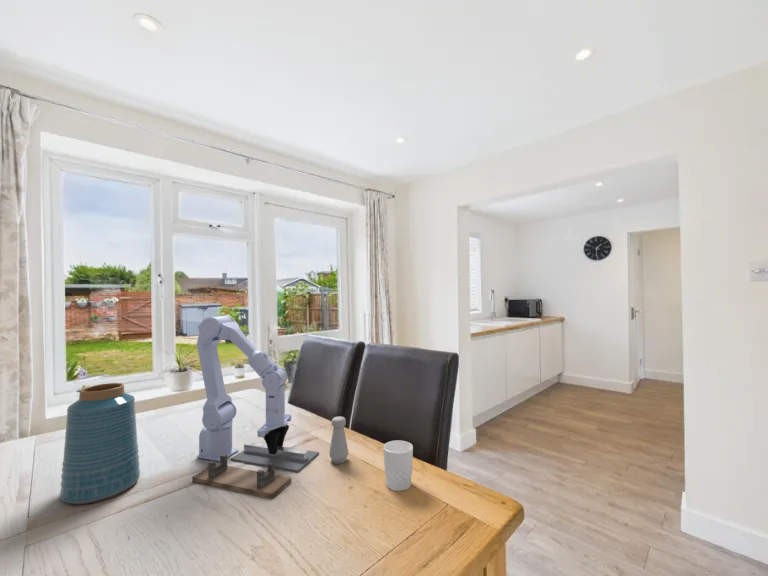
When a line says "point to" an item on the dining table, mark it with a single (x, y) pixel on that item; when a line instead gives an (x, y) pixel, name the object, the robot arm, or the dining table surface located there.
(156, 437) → the dining table surface
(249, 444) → the rail
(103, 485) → the vase
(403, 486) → the white cup
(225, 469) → the rack
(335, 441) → the salt shaker
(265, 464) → the mat
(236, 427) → the dining table surface
